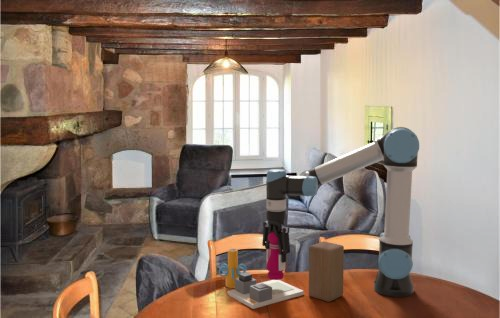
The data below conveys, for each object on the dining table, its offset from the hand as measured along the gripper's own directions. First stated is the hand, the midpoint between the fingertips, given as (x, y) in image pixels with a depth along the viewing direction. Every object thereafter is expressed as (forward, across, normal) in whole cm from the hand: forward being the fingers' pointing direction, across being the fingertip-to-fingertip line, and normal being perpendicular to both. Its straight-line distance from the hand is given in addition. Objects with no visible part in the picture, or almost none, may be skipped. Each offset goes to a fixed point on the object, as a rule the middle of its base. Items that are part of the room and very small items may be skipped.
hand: (275, 267), depth 200 cm
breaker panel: (+10, 0, -5) cm, 11 cm away
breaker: (+7, -5, -11) cm, 14 cm away
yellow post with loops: (+10, -15, -10) cm, 21 cm away
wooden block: (+10, +15, +13) cm, 22 cm away
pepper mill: (+4, 0, 0) cm, 4 cm away
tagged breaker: (+8, +5, -11) cm, 15 cm away
